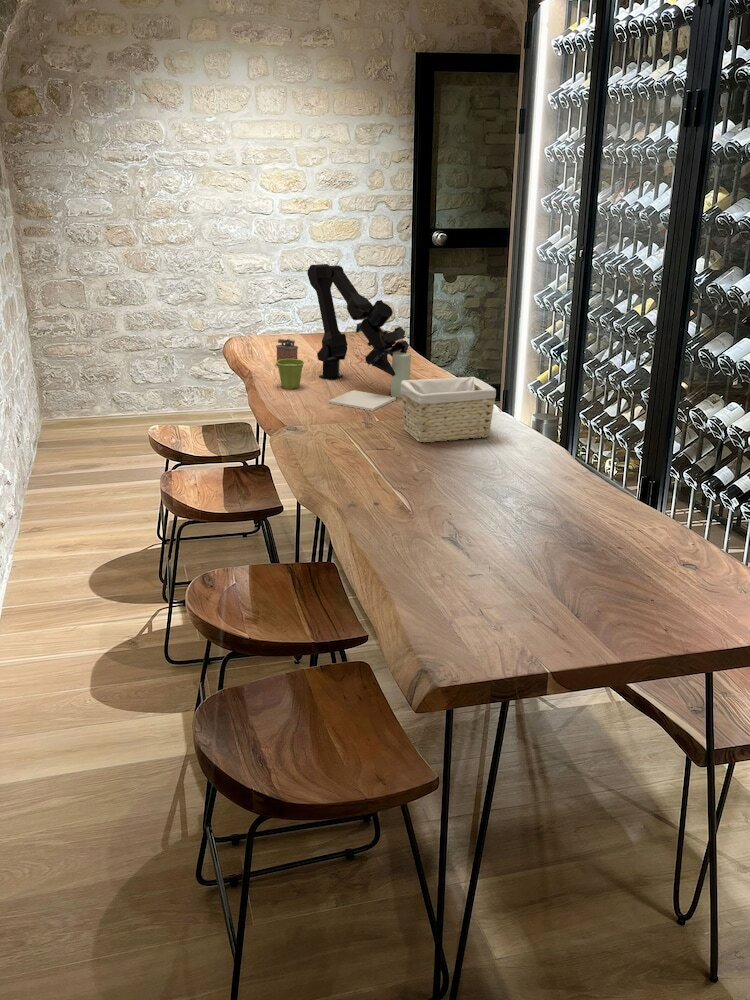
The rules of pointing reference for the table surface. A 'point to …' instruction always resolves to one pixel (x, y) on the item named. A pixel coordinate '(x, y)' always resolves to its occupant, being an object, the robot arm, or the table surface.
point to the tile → (362, 400)
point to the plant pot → (290, 372)
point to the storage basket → (447, 408)
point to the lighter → (286, 349)
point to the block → (400, 372)
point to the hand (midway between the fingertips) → (402, 372)
